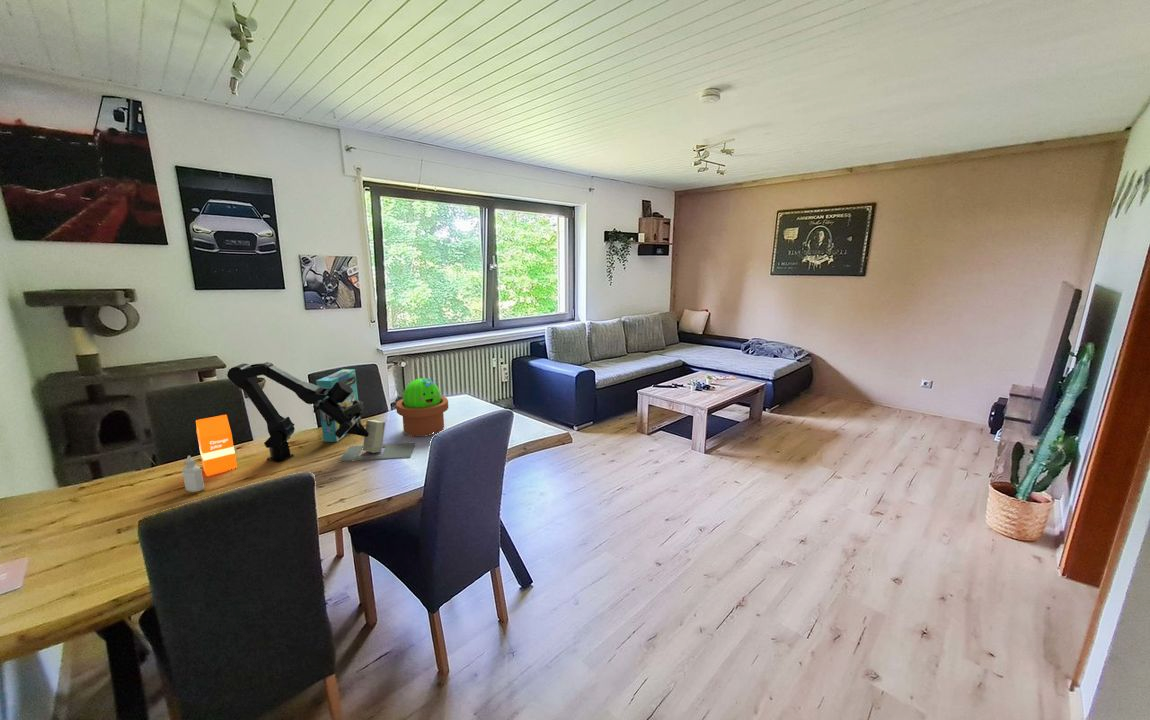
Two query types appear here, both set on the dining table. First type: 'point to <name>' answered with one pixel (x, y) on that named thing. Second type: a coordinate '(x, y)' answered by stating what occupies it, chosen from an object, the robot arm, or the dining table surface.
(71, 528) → the dining table surface
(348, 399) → the game box
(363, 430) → the robot arm
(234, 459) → the orange juice
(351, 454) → the flat grey rectangular plate
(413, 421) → the potted cactus
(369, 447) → the skincare box
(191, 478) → the eye dropper bottle
